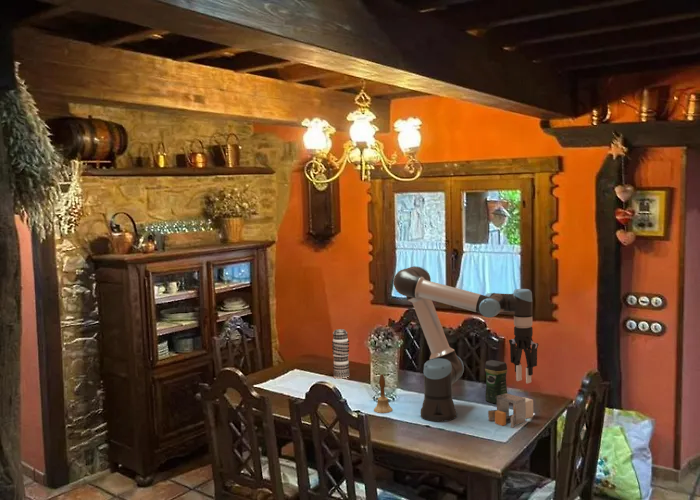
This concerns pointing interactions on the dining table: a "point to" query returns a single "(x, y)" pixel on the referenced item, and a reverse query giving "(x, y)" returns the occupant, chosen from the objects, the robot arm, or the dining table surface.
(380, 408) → the hand bell
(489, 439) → the dining table surface
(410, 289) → the robot arm
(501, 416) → the plug
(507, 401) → the housing
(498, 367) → the coffee jar
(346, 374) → the decorative candle
